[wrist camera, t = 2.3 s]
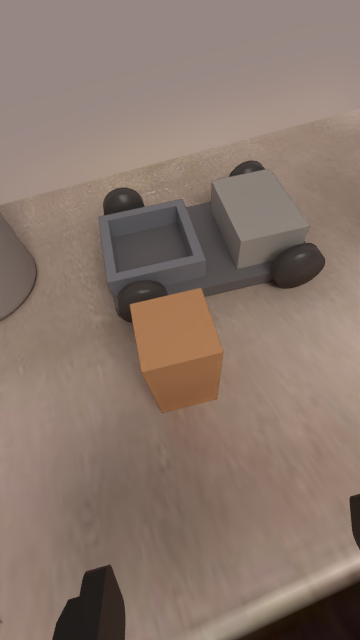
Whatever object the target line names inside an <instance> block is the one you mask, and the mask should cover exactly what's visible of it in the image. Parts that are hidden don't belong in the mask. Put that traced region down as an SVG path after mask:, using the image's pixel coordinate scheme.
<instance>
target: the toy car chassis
mask: <svg viewBox="0 0 360 640" xmlns="http://www.w3.org/2000/svg"><path fill="white" fill-rule="evenodd" d="M103 208H104V216H100V217H99V225H100V232H101V240H102V248H103V255H104V263H105V270H106V278H107V284H108V286H109V288H110V290H111V292H112V294H113V297H114V302H115V309H116V311H117V313H118V315H119V317H120V316H121V317H122V318H123V319H124V320H126V321H128V322H132V323H133V321H132V315H131V309H130V304H133V303H138V302H142V301H146V300H151V299H155V298H159V297H163V296H168V295H172V294H176V293H181V292H185V291H189V290H193V289H198V288H201V289H202V292H203V294H204V297H205V296H209V295H214V294H218V293H222V292H226V291H230V290H235V289H239V288H243V287H247V286H252V285H256V284H260V283H264V282H269V281H273V280H275V282H276V284H277V285H278V286H279V287H281V288H293V287H297V286H300V285H302V284H304V283H306V282H308V281H310V280H311V279H313V278H314V277H315V276H316V275H317V274H319V272H320V271H321V270H322V269H323V267H324V265H325V258H324V257H323V255H322V254H321V252H320V251H319V249H318V248H317V246H316V245H314V244H312V243H305V241H304V240H305V237H306V235H307V232H308V230H309V227H310V225H309V224H308V222H307V221H306V220H305V218H304V217H303V215H302V214H301V212H300V211H299V209H298V208H297V206H296V205H295V204H294V202H293V201H292V199H291V198H290V196H289V195H288V193H287V192H286V191H285V189H284V188H283V186H282V185H281V183H280V182H279V180H278V179H277V178H276V176H275V175H274V173H273V172H272V170H271V169H264V167H263V166H262V165H261V164H260V163H259V162H257V161H246V162H244V163H242V164H240V165H238V166H237V167H236V168H235V169H234V170H233V171H232V172H231V174H230V176H229V177H228V178H223V179H218V180H213V181H212V183H211V202H209V203H204V204H200V205H195V206H190V207H185V204H184V201H183V199H179V200H174V201H170V202H165V203H160V204H156V205H151V206H146V207H144V203H143V200H142V198H141V196H140V195H139V194H138V193H137V192H136V191H134V190H132V189H129V188H117V189H115V190H113V191H111V192H110V193H108V194H107V196H106V197H105V199H104V202H103Z"/></svg>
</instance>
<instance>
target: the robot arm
mask: <svg viewBox="0 0 360 640" xmlns="http://www.w3.org/2000/svg"><path fill="white" fill-rule="evenodd" d="M350 511H351V523H352V532H353V536H354V539H355V541H356V543H357V545H358V547H359V549H360V494H357V495H354V496H351V497H350ZM52 640H125V606H124V601H123V597H122V594H121V591H120V589H119V586H118V583H117V580H116V578H115V575H114V572H113V569H112V567H111V565H107V566H103V567H100V568H96V569H93V570H89V571H86V572H85V574H84V576H83V580H82V585H81V591H80V596H79V597H76V598H72V599H69V600H68V602H67V604H66V606H65V607H64V609H63V611H62V613H61V615H60V617H59V619H58V621H57V623H56V627H55V631H54V635H53V639H52Z"/></svg>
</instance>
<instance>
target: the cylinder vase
mask: <svg viewBox="0 0 360 640" xmlns="http://www.w3.org/2000/svg"><path fill="white" fill-rule="evenodd" d="M35 278H36V266H35V262H34V260H33V258H32V256H31V255H30V253H29V252H28V251H27V249H26V248H25V247H24V245H23V244H22V242H21V241H20V240H19V238H18V237H17V236H16V234H15V233H14V231H13V230H12V229H11V227H10V226H9V225H8V223H7V222H6V220H5V219H4V218H3V216H2V215H1V214H0V320H1V319H3V318H5V317H6V316H8V315H9V314H10V313H12V312H13V311H14V310H15V309H17V308H18V307H19V306H20V305H21V304H22V303H23V301H24V300H25V299H26V298H27V296H28V295H29V293H30V291H31V290H32V287H33V285H34V282H35Z"/></svg>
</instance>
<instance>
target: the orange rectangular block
mask: <svg viewBox="0 0 360 640" xmlns="http://www.w3.org/2000/svg"><path fill="white" fill-rule="evenodd" d="M130 309H131V315H132V321H133V326H134V332H135V338H136V343H137V349H138V355H139V361H140V366H141V372H142V374H143V376H144V378H145V380H146V382H147V384H148V386H149V388H150V390H151V392H152V394H153V396H154V398H155V399H156V401H157V403H158V405H159V407H160V409H161V411H162V413H164V412H168V411H172V410H176V409H179V408H183V407H187V406H191V405H195V404H199V403H203V402H207V401H211V400H214V399H217V395H218V388H219V381H220V373H221V366H222V359H223V350H222V347H221V344H220V341H219V338H218V335H217V332H216V329H215V326H214V323H213V321H212V318H211V315H210V312H209V309H208V306H207V303H206V300H205V297H204V294H203V292H202V289H201V288H198V289H193V290H189V291H185V292H181V293H176V294H172V295H168V296H163V297H159V298H155V299H151V300H146V301H142V302H138V303H133V304H130Z"/></svg>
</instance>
